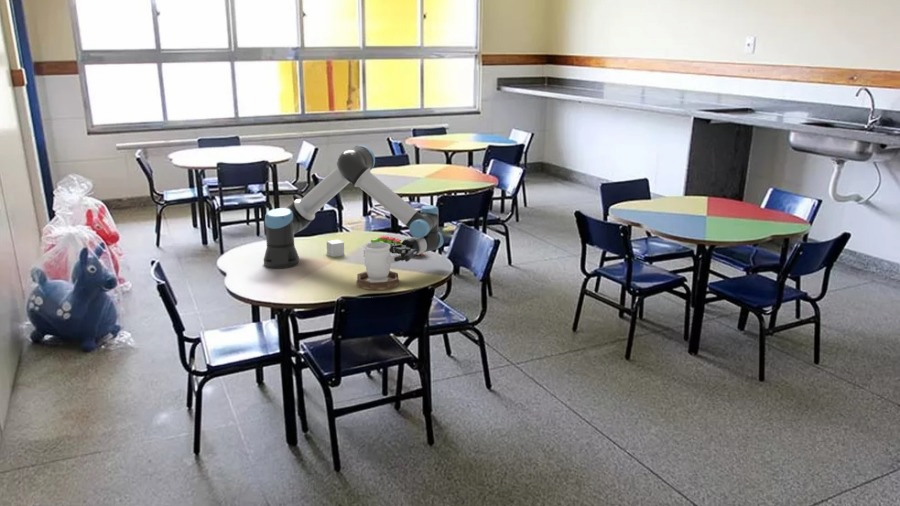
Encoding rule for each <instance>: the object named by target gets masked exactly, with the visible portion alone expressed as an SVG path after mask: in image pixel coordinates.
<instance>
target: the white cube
mask: <svg viewBox="0 0 900 506" xmlns="http://www.w3.org/2000/svg"><path fill="white" fill-rule="evenodd" d="M326 254H328V256H330V257H339V256H340V257H341V256H345V242H344V241H343V240H341V239H332V240H326Z"/></svg>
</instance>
